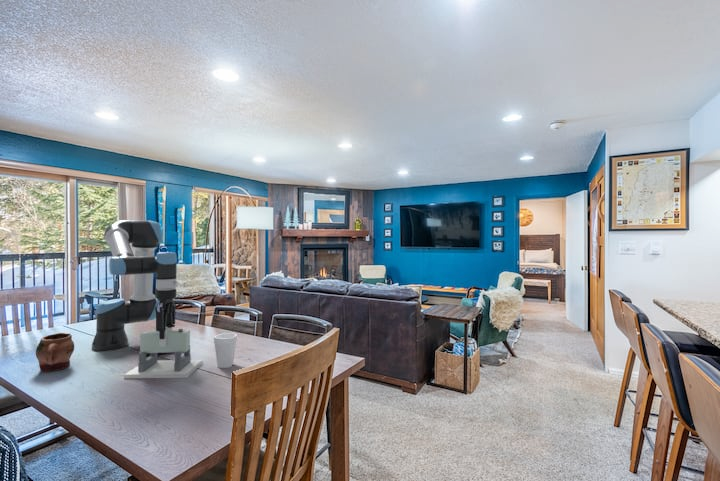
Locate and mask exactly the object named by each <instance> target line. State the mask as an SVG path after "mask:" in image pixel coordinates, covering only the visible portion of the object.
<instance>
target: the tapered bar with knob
mask: <svg viewBox="0 0 720 481" xmlns="http://www.w3.org/2000/svg"><path fill="white" fill-rule="evenodd" d="M139 336H140V337H139V338H140V339H139V340H140V341H139V353H140V352H146V353H163V354H167V352H168V353H175V352H182V353H184V352H187V351H188V350H189V349H190V350H191V330H189V329H188V330H187V329H186V330H185V329H183V328H179V329H178V330H172V331H167V346H166V347H159V331H156V330H146V331H142V332H141V333H140V334H139Z"/></svg>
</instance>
